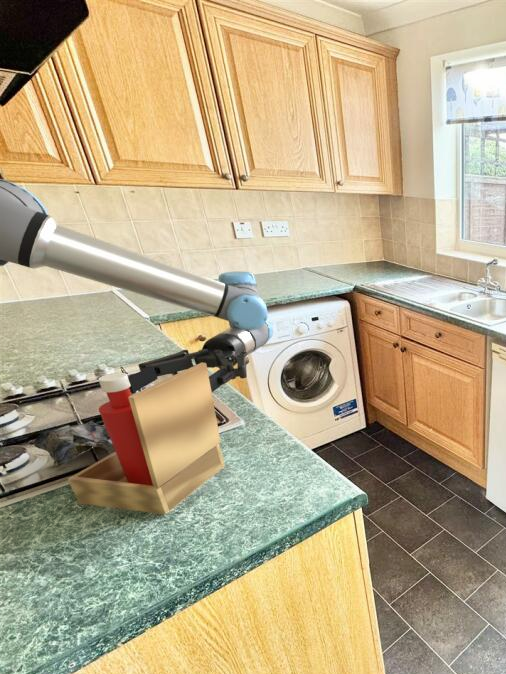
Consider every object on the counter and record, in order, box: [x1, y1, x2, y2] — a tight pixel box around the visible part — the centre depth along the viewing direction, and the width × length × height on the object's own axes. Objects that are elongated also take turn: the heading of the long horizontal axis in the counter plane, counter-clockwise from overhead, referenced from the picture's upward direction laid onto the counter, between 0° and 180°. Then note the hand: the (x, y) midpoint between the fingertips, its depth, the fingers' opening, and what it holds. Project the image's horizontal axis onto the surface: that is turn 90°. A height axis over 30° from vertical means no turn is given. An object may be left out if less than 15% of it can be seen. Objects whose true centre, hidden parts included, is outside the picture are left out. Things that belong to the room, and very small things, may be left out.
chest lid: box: [128, 362, 222, 488], centre depth 69 cm, size 16×14×1 cm
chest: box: [67, 443, 226, 515], centre depth 75 cm, size 16×14×6 cm
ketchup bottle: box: [98, 372, 153, 486], centre depth 71 cm, size 6×6×21 cm
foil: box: [33, 419, 115, 468], centre depth 82 cm, size 12×11×15 cm
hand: (167, 387), depth 79 cm, fingers open, 13 cm apart
